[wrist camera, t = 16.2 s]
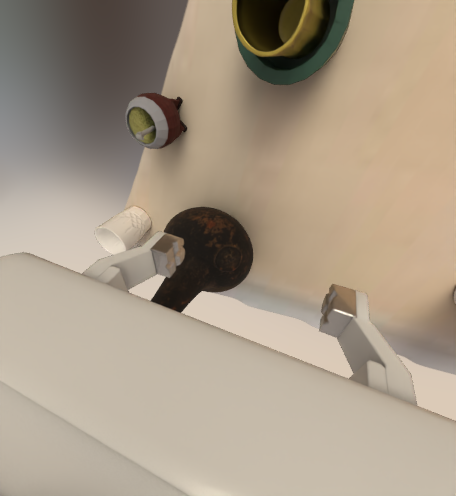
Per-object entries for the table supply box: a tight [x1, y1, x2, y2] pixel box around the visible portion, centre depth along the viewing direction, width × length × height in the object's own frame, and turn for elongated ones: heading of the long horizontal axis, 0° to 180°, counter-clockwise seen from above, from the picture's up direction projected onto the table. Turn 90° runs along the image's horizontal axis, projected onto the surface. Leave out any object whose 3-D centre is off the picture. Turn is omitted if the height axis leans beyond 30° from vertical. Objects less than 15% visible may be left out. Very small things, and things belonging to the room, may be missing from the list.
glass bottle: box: [151, 207, 253, 313], centre depth 40 cm, size 18×18×28 cm
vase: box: [232, 0, 330, 59], centre depth 20 cm, size 6×6×14 cm
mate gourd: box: [126, 93, 187, 149], centre depth 32 cm, size 8×8×15 cm
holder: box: [235, 0, 354, 85], centre depth 23 cm, size 10×10×8 cm
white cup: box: [94, 206, 151, 255], centre depth 53 cm, size 8×8×10 cm
